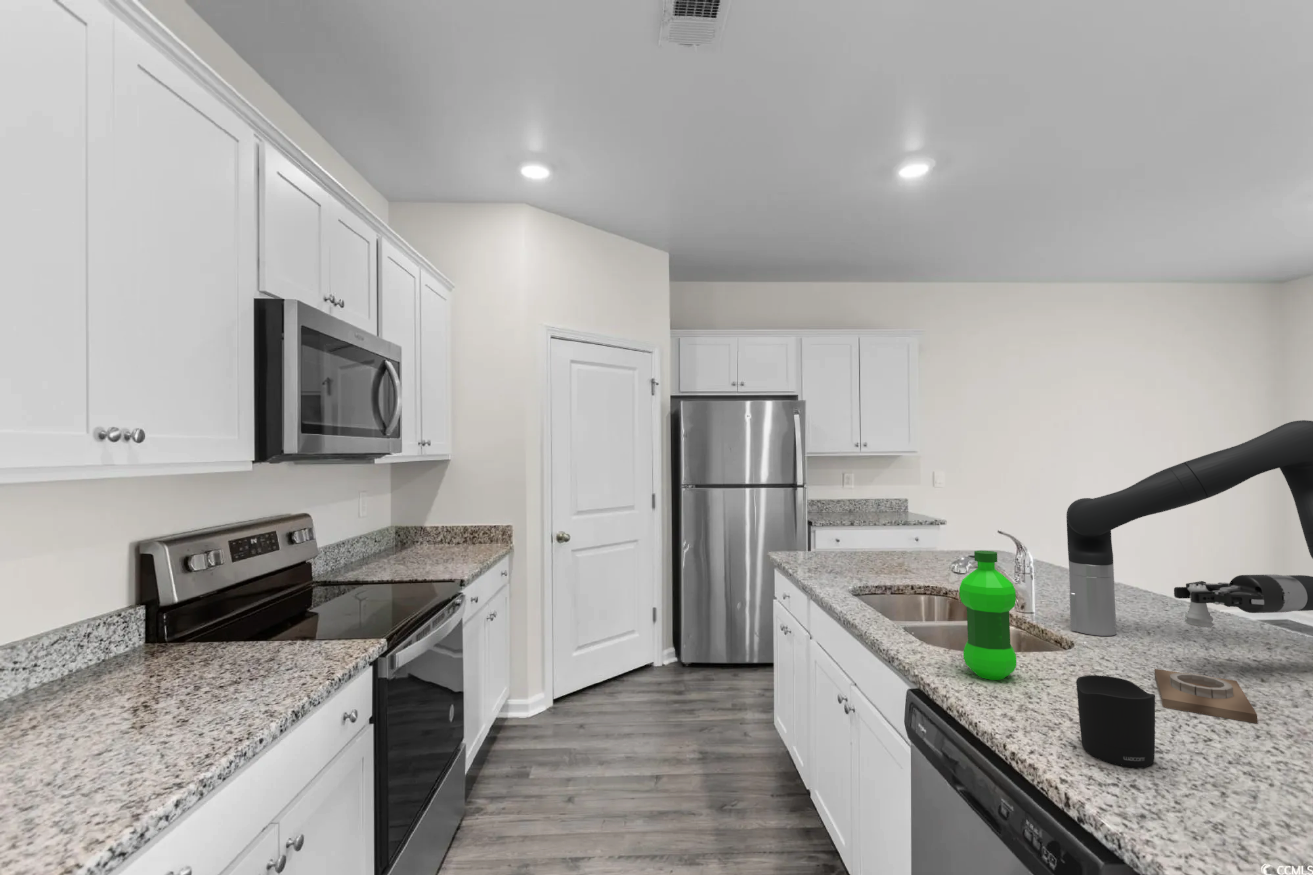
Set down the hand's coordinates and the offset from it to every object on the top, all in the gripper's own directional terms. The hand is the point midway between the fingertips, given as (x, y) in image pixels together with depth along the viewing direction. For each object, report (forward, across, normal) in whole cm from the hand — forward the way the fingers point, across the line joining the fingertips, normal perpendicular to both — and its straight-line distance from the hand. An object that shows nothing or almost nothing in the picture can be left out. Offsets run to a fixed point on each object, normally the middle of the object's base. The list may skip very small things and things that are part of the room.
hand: (1184, 595), depth 123 cm
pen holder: (+39, +31, +16) cm, 52 cm away
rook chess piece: (-3, 0, +6) cm, 7 cm away
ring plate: (+8, +12, +16) cm, 21 cm away
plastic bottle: (+39, -2, +16) cm, 43 cm away
